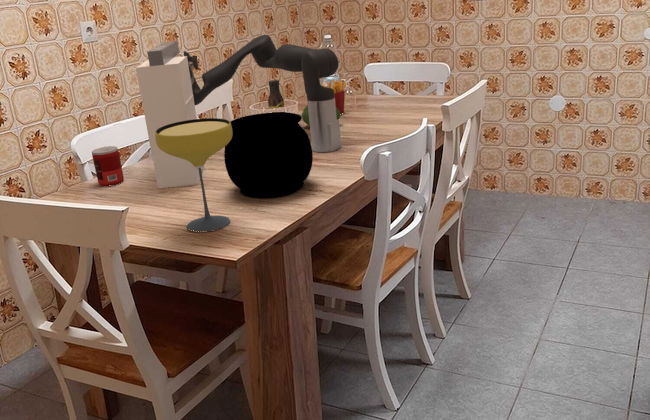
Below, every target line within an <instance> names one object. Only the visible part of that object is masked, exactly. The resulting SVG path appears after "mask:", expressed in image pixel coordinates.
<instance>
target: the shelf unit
mask: <svg viewBox="0 0 650 420" xmlns="http://www.w3.org/2000/svg"><path fill="white" fill-rule="evenodd" d="M135 70H136V71H135V72H136V76H137V81H138V82H137V83H138V87H139V92H140V98H141V105H142V108H143V115H144V119H145V125H146V130H147V135H148V141H149V146H150V153H151V157H152V161H153V168H154V174H155V179H156V180H155V181H156V184H157V189H158V188H159V189H166V188H167V189H168V187H169V188H176V187H178V186H179V187H188V186H195V185H197V186H198V185H199V183H200V182H201V181H200V175H199V169H198V168H196V167H195V166H193V165H192V164H191V163H190V162H189V161H187V160H184V159H181V158H178V157H174V156H171V155H169V154H167V153H165V152H163V151H162V150H160V149H159V148H158V146H157V143H156V138H155V132H156V130H157V129H159V128H160V127H163V126H165V125H168V124H172V123H176V122H181V121H186V120H193V119H198V118H197V111H196V105H195V104H194V98H193V91H192V85H191V79H190V72H189V66H188V60H187V56H184V55H183V56H175V57H174V58H172V59H171V60H170V61H168V62H167V63H166V64H165V65H158V66H150V65H149V59H147V60H145V61H144V62H142V63H140V64H139V65H138V66H136V67H135ZM204 170H205V165H204V166H203V167H201V171H202V174H203V173H204Z"/></svg>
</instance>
